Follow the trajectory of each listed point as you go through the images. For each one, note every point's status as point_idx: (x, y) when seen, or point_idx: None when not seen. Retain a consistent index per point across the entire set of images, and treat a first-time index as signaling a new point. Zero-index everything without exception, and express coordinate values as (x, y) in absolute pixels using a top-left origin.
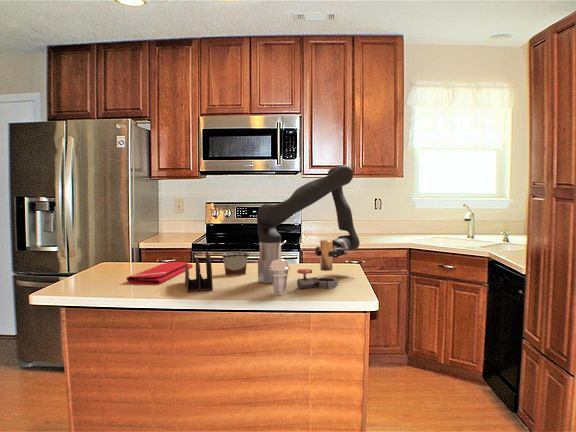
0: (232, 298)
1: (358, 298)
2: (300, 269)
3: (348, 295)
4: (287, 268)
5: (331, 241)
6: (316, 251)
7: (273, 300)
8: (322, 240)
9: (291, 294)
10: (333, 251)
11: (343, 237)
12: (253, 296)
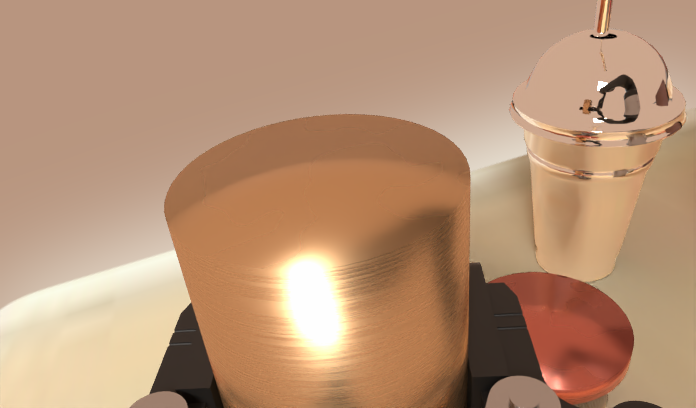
0: (691, 140)
1: (67, 344)
2: (616, 341)
3: (129, 381)
4: (513, 98)
5: (184, 172)
6: (500, 283)
7: (502, 176)
8: (431, 183)
9: (497, 271)
10: (193, 358)
11: None
12: (645, 184)
